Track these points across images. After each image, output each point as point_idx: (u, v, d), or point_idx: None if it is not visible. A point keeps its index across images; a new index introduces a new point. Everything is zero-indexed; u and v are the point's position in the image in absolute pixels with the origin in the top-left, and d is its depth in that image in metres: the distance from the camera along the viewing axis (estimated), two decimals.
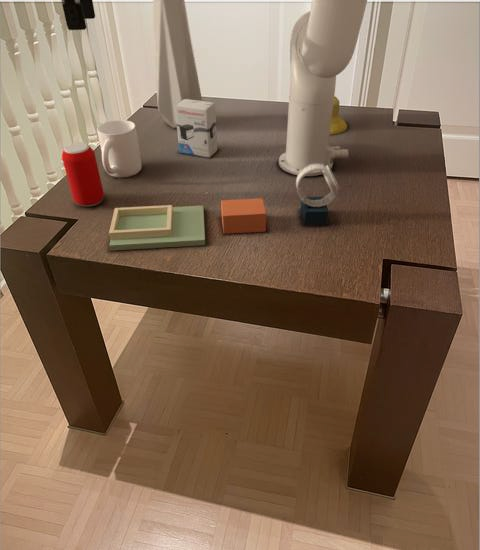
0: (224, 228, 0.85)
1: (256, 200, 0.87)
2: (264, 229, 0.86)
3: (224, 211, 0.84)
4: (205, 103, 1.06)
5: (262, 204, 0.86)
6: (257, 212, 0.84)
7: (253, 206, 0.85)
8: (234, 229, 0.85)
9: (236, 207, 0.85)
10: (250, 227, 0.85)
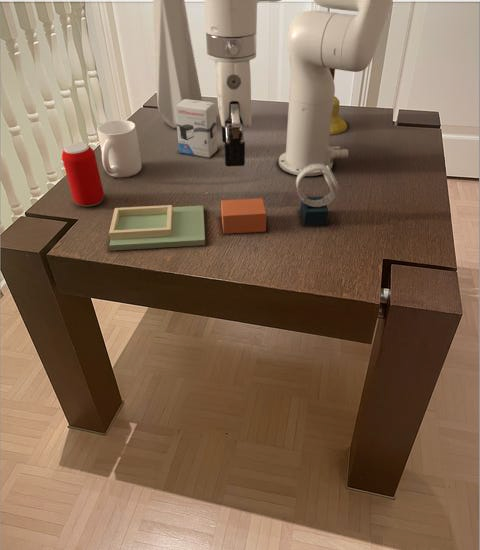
0: (224, 228, 0.85)
1: (256, 200, 0.87)
2: (264, 229, 0.86)
3: (224, 211, 0.84)
4: (205, 103, 1.06)
5: (262, 204, 0.86)
6: (257, 212, 0.84)
7: (253, 206, 0.85)
8: (234, 229, 0.85)
9: (236, 207, 0.85)
10: (250, 227, 0.85)
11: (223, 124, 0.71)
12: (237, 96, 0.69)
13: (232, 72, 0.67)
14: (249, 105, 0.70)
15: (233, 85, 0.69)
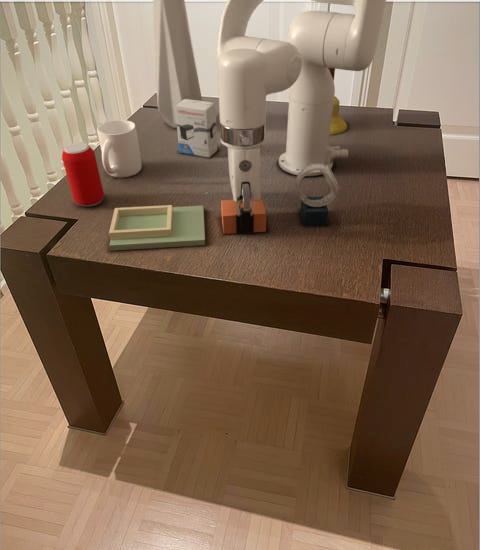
0: (224, 228, 0.85)
1: None
2: (264, 229, 0.86)
3: (224, 211, 0.84)
4: (205, 103, 1.06)
5: (262, 204, 0.86)
6: (257, 212, 0.84)
7: (253, 206, 0.85)
8: (234, 229, 0.85)
9: (236, 207, 0.85)
10: None
11: (235, 200, 0.79)
12: (248, 181, 0.76)
13: (244, 158, 0.74)
14: (259, 184, 0.77)
15: (244, 167, 0.76)
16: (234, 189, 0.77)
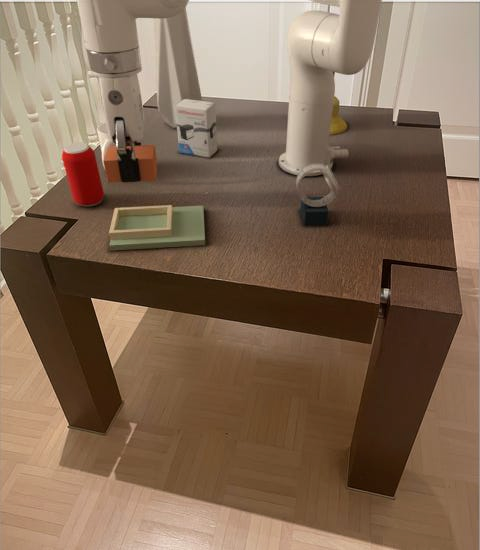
0: (107, 176, 0.76)
1: (147, 147, 0.78)
2: (153, 178, 0.77)
3: (106, 156, 0.75)
4: (205, 103, 1.06)
5: (152, 150, 0.77)
6: (143, 157, 0.75)
7: (141, 151, 0.77)
8: (119, 177, 0.76)
9: None
10: None
11: (111, 140, 0.70)
12: (121, 116, 0.67)
13: (112, 88, 0.65)
14: (135, 121, 0.68)
15: (117, 100, 0.67)
16: (107, 126, 0.69)
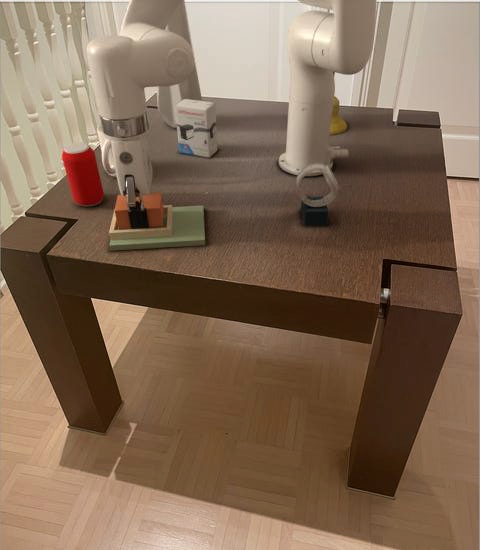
0: (118, 223, 0.82)
1: (154, 194, 0.84)
2: (160, 224, 0.83)
3: (117, 205, 0.81)
4: (205, 103, 1.06)
5: (159, 198, 0.83)
6: (151, 206, 0.81)
7: (149, 200, 0.83)
8: (129, 224, 0.82)
9: None
10: None
11: (122, 194, 0.76)
12: (131, 174, 0.74)
13: (123, 150, 0.71)
14: (144, 177, 0.75)
15: (127, 160, 0.73)
16: (118, 182, 0.75)
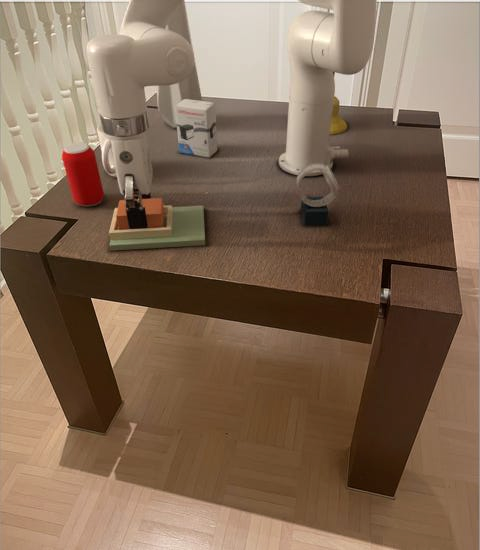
0: (119, 228, 0.83)
1: (155, 200, 0.85)
2: None
3: (119, 211, 0.82)
4: (205, 103, 1.06)
5: (160, 204, 0.84)
6: (152, 212, 0.82)
7: (150, 205, 0.83)
8: None
9: None
10: None
11: (122, 193, 0.76)
12: (131, 169, 0.73)
13: (123, 149, 0.71)
14: (144, 176, 0.74)
15: (127, 159, 0.73)
16: (118, 181, 0.75)
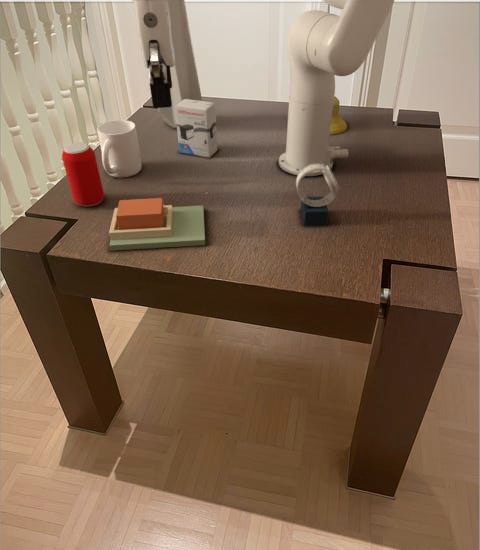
0: (119, 228, 0.83)
1: (155, 200, 0.85)
2: None
3: (119, 211, 0.82)
4: (205, 103, 1.06)
5: (160, 204, 0.84)
6: (152, 212, 0.82)
7: (150, 205, 0.83)
8: None
9: (132, 207, 0.83)
10: None
11: (146, 64, 0.74)
12: (155, 34, 0.71)
13: (147, 10, 0.69)
14: (168, 44, 0.72)
15: (151, 24, 0.71)
16: (142, 50, 0.72)
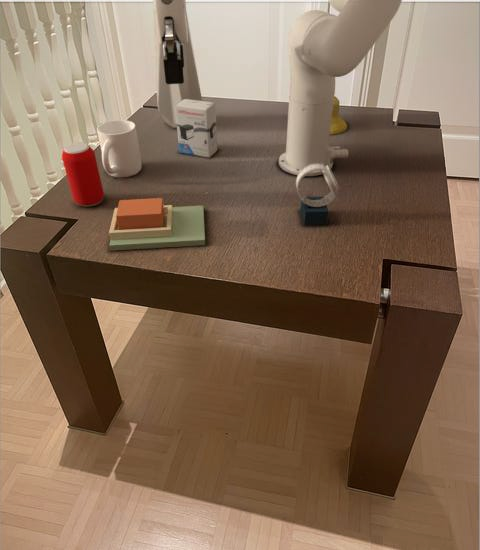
0: (119, 228, 0.83)
1: (155, 200, 0.85)
2: None
3: (119, 211, 0.82)
4: (205, 103, 1.06)
5: (160, 204, 0.84)
6: (152, 212, 0.82)
7: (150, 205, 0.83)
8: None
9: (132, 207, 0.83)
10: None
11: (160, 40, 0.76)
12: (171, 11, 0.74)
13: None
14: (183, 21, 0.75)
15: (167, 1, 0.74)
16: (158, 26, 0.75)
